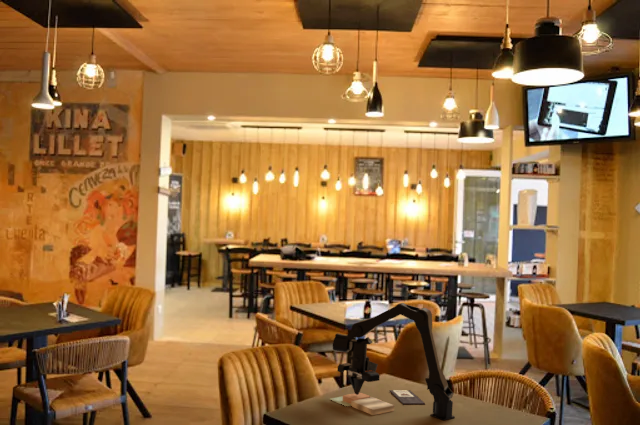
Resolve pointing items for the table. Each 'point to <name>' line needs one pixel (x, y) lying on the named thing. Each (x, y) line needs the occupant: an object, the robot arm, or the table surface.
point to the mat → (340, 401)
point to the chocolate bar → (407, 397)
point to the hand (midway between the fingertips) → (356, 394)
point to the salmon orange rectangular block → (354, 397)
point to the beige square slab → (372, 406)
